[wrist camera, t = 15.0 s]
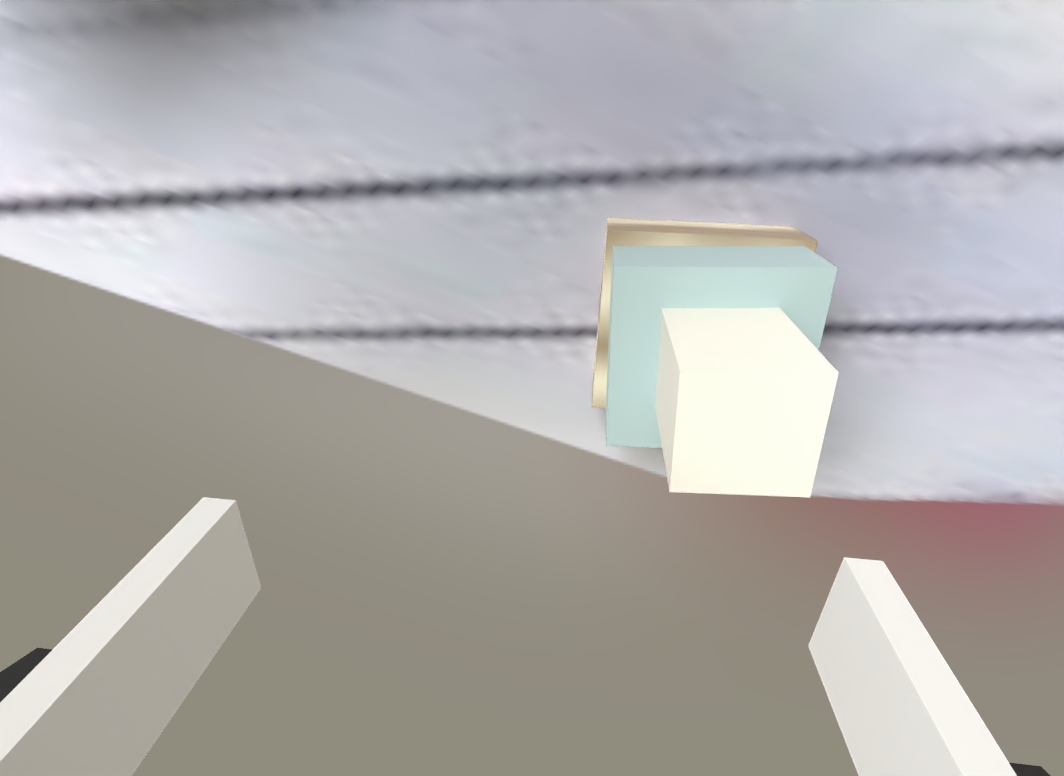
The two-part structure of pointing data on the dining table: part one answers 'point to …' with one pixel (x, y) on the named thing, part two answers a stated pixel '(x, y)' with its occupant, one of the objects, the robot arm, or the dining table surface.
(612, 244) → the tower base slab
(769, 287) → the tower top slab
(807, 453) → the cream block
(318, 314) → the dining table surface
